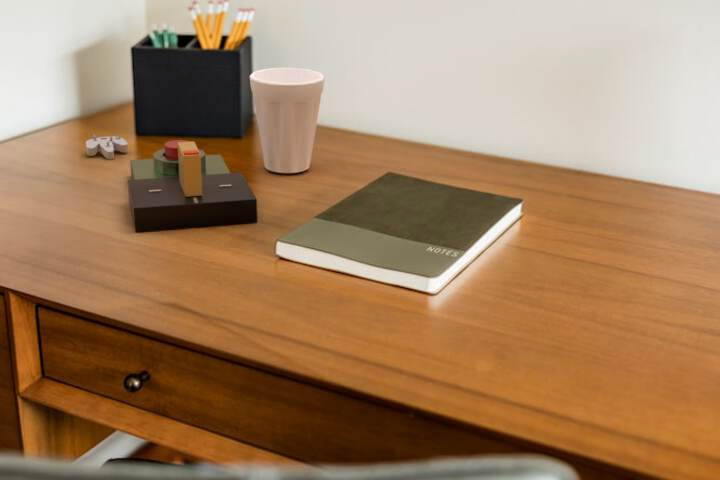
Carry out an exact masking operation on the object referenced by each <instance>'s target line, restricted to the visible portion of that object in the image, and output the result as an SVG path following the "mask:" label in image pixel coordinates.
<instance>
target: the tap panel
mask: <svg viewBox="0 0 720 480" xmlns="http://www.w3.org/2000/svg"><path fill="white" fill-rule="evenodd" d="M127 191H128V204H129V209H130V212H131V218H132V222H133V228H134V232H135V233H147V232H160V231H170V230H183V229H194V228H207V227H217V226H229V225H230V226H231V225H241V224H242V225H243V224H255V223H258V199H257V197H256V195H255V194H254V192H253V190H252V188H251V187H250V185H249V183H248V182H247V180H246V178H245V176H244V175H243V173H242V172H230V173H226V174H211V175H202V196H190V197H185V195H184V192H183V189H182V187H181V184H180V180H179V177H166V178H151V179H137V180H132V179H127Z"/></svg>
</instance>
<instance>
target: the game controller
mask: <svg viewBox="0 0 720 480" xmlns="http://www.w3.org/2000/svg"><path fill="white" fill-rule="evenodd" d="M128 146H129V145H128V142H127V140H126V139H125V138H123V137H121V136H112V135H111V136H99V137H98V136H96V135H95V134H93V133H92V135H91V138H90V139H88V140H86V141H85V148H86V149H85V151H86V155H87V156H89V157H90V156H91V157H92V156H95V155H96V154H98V152H99V153H100V154H101V155H102V156H103V157H104V158H105V159H106V160H113V159H115V151H117V152H120V153H127V152H128V150H129V147H128Z"/></svg>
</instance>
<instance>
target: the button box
mask: <svg viewBox="0 0 720 480" xmlns="http://www.w3.org/2000/svg"><path fill="white" fill-rule="evenodd" d="M198 151H199V153H200V155H201V175H211V174H226V173H231V172H230V170H229V168H228V166H227V164H226V163H225V161H224V159H223V157H222V155H221V154H211V155H210V154H208V155H206V153H205V151H204V150H202V149H200V148H198ZM129 165H130V175H131V180H137V179H151V178H166V177H179V160H178V159H169V158H166V157H165V148H162V149H158V150H157V151H155V152H154V153H153V154H152V158H142V159H141V158H140V159H130V160H129Z"/></svg>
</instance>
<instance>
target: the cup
mask: <svg viewBox="0 0 720 480" xmlns="http://www.w3.org/2000/svg"><path fill="white" fill-rule="evenodd" d="M249 84H250V90H251V92H252V97H253V103H254V109H255V116H256V121H257V128H258V135H259V141H260V146H261V153H262V159H263V160H262V161H263V166H264V168H265V169H266V170H268V171H270V172H273V173H279V174H296V173H301V172H305V171H307V170H309V169H310V167H311V162H312V156H313V148H314V143H315V136H316V131H317V123H318V118H319V112H320V106H321V105H320V104H321V98H322V93H323V92H324V86H325V76H324V75H323V74H322V73H321V72H320V71H315V70H313V69H307V68H300V67H298V68H297V67H272V68H263V69H260V70H255V71H253V72H252V73H251V74H250V75H249Z"/></svg>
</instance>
